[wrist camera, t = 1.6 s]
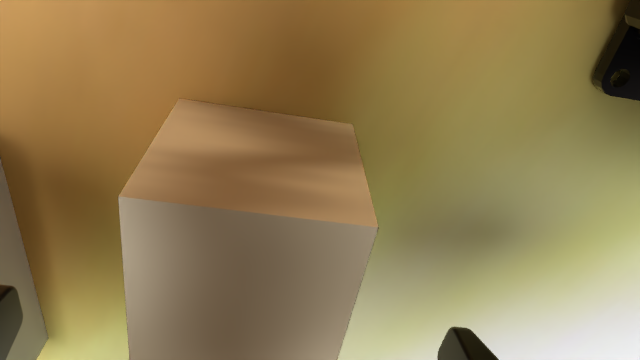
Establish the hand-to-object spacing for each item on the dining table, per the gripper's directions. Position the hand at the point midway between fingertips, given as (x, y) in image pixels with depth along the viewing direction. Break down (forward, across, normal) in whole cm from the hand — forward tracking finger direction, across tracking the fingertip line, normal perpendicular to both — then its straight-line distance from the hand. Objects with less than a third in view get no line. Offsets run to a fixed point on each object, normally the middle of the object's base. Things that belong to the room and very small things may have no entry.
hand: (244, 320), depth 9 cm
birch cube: (+6, 0, 0) cm, 6 cm away
